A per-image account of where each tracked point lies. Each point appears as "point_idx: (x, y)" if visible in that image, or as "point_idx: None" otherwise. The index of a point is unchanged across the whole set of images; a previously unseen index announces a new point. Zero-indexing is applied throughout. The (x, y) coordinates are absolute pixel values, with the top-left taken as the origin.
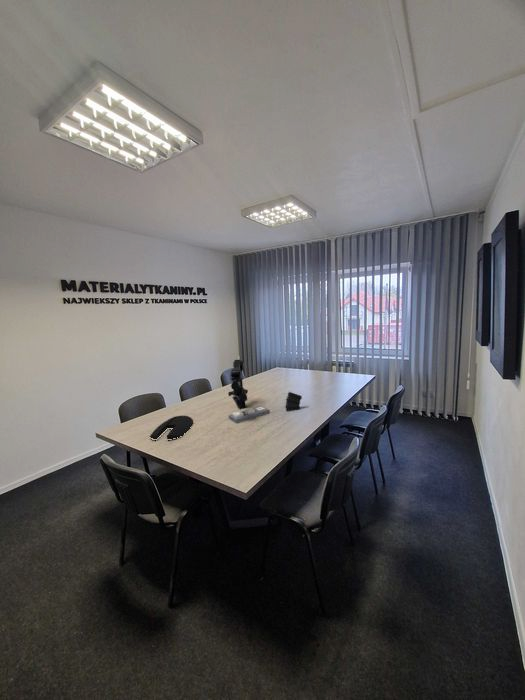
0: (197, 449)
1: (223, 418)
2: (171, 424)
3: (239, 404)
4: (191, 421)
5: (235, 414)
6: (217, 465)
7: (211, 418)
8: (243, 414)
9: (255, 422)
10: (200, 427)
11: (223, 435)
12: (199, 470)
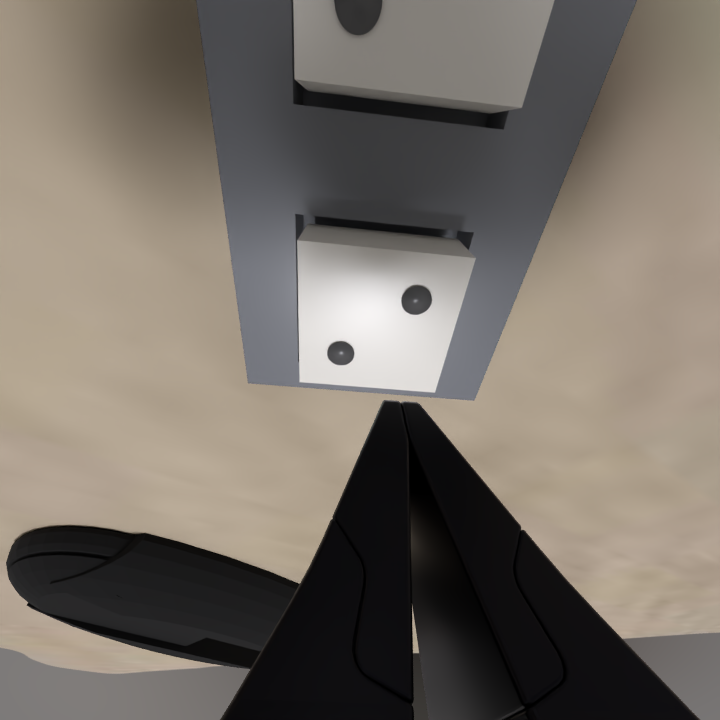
0: None
1: (201, 379)
2: (193, 640)
3: (453, 450)
4: (172, 570)
5: (395, 386)
6: (707, 610)
7: (129, 445)
8: (467, 251)
9: (714, 164)
10: (282, 540)
11: (535, 519)
12: (651, 633)
